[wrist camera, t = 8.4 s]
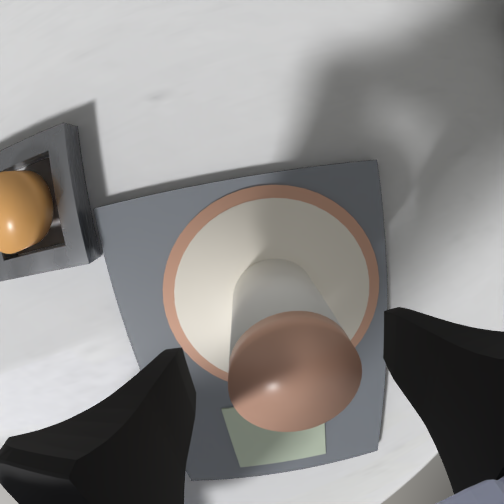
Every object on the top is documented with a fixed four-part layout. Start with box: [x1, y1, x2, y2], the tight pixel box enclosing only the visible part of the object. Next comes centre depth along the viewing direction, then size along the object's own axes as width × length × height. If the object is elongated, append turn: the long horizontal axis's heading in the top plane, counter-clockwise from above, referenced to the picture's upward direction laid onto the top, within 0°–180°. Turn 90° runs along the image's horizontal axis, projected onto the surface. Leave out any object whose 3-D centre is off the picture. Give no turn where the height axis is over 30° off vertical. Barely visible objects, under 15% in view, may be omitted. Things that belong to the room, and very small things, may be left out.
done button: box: [0, 170, 53, 254], centre depth 13 cm, size 4×4×2 cm
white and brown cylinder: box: [228, 259, 362, 432], centre depth 12 cm, size 4×4×7 cm
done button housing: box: [0, 123, 101, 281], centre depth 14 cm, size 7×7×2 cm
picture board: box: [94, 160, 387, 481], centre depth 17 cm, size 20×14×1 cm
